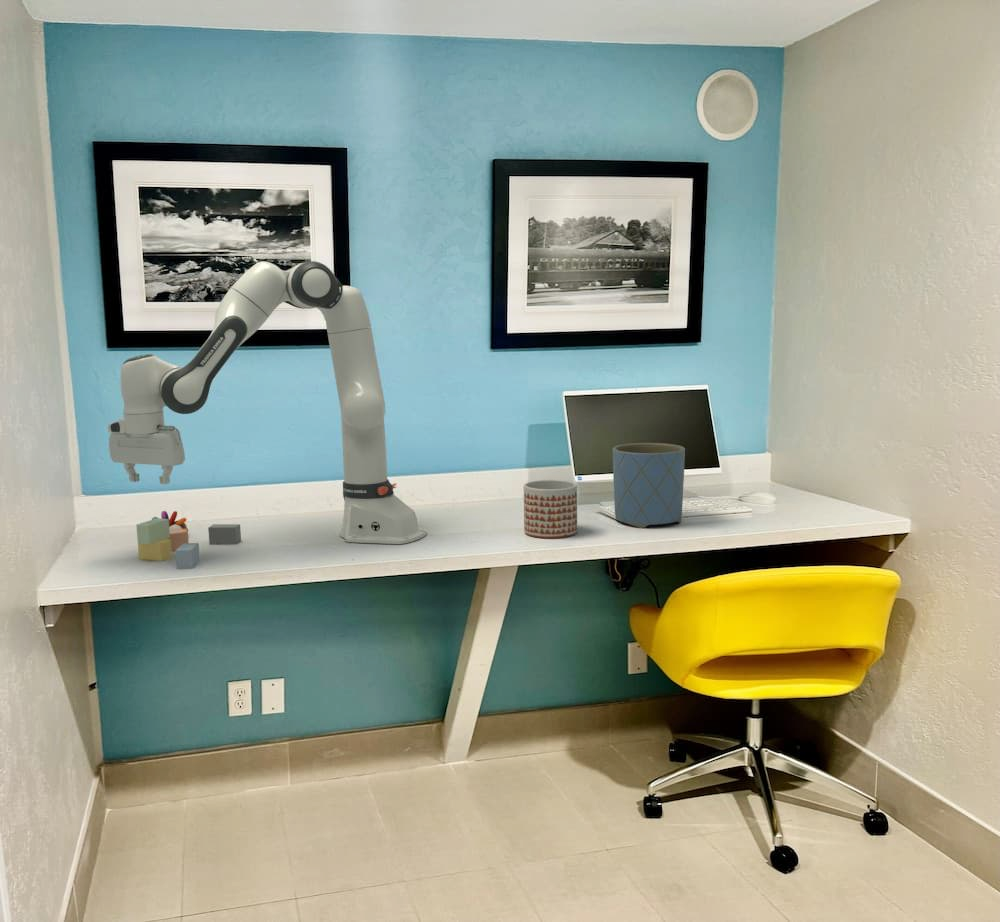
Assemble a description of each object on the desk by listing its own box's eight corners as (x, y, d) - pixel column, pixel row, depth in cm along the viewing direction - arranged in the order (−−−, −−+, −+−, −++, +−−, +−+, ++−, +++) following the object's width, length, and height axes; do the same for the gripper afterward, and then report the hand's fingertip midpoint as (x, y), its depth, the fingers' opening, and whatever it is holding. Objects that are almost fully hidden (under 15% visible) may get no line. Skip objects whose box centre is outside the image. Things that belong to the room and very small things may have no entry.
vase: (529, 540, 239) (529, 490, 237) (520, 528, 253) (519, 480, 251) (582, 537, 242) (582, 488, 239) (570, 525, 255) (570, 478, 253)
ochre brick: (172, 557, 230) (170, 539, 229) (161, 561, 227) (160, 543, 226) (149, 555, 233) (148, 537, 232) (139, 558, 229) (137, 540, 229)
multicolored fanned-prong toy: (186, 540, 246) (184, 513, 245) (146, 543, 245) (144, 515, 244) (191, 533, 255) (189, 506, 254) (153, 535, 253) (150, 508, 252)
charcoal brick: (241, 541, 245) (240, 524, 244) (236, 544, 241) (235, 527, 241) (214, 541, 245) (213, 524, 245) (209, 544, 242) (208, 527, 241)
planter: (636, 532, 245) (637, 455, 242) (599, 518, 263) (599, 446, 259) (698, 524, 253) (699, 449, 250) (658, 510, 270) (658, 440, 267)
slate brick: (184, 561, 226) (183, 543, 225) (199, 561, 226) (198, 542, 226) (176, 569, 219) (175, 550, 219) (192, 569, 220) (190, 550, 219)
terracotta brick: (185, 546, 241) (184, 529, 240) (188, 549, 238) (187, 531, 237) (156, 550, 237) (155, 532, 237) (159, 553, 234) (158, 535, 234)
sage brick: (158, 536, 233) (157, 518, 232) (170, 537, 231) (168, 519, 231) (137, 543, 226) (136, 524, 226) (149, 544, 225) (148, 525, 224)
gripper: (188, 424, 223) (193, 482, 225) (122, 421, 231) (127, 478, 233) (168, 427, 217) (174, 487, 219) (102, 425, 225) (107, 482, 228)
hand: (149, 482), depth 226 cm, fingers open, 8 cm apart
